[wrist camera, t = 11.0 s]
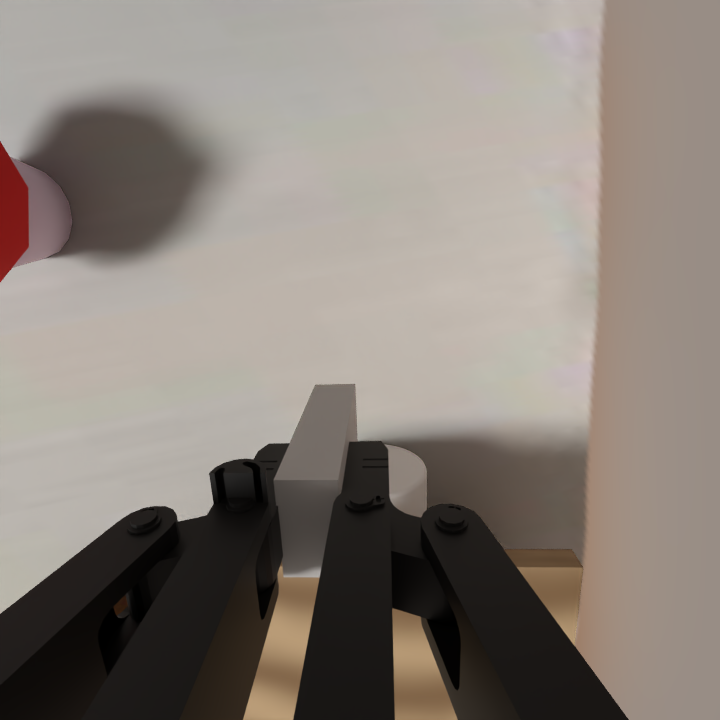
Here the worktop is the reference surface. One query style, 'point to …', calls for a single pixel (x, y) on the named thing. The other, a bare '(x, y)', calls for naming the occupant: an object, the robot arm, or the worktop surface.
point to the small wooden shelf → (395, 640)
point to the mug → (407, 481)
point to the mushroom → (29, 214)
